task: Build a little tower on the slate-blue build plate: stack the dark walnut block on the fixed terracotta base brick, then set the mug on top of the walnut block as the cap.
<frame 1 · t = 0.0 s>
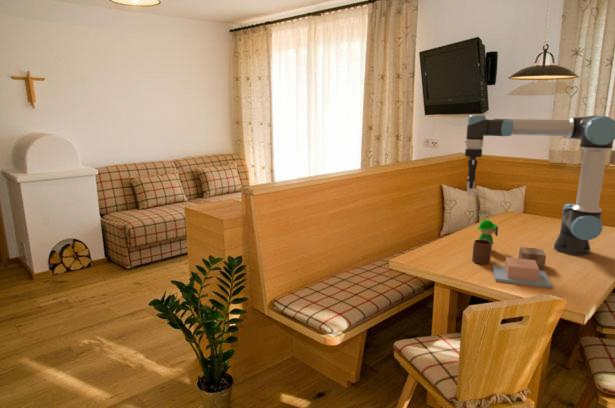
hand: (469, 192, 206), 28 cm above the table, fingers open, 13 cm apart
toy: (484, 249, 210), on the table
mug: (481, 260, 195), on the table
build plate: (520, 277, 176), on the table
walnut block: (530, 266, 189), on the table
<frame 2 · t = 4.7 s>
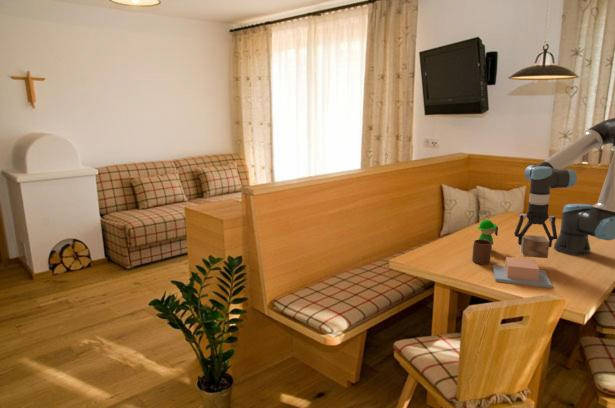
hand: (533, 252, 187), 6 cm above the table, fingers closed on walnut block, 9 cm apart
walnut block: (533, 253, 187), point 5 cm above the table, touching gripper
everything else where it was.
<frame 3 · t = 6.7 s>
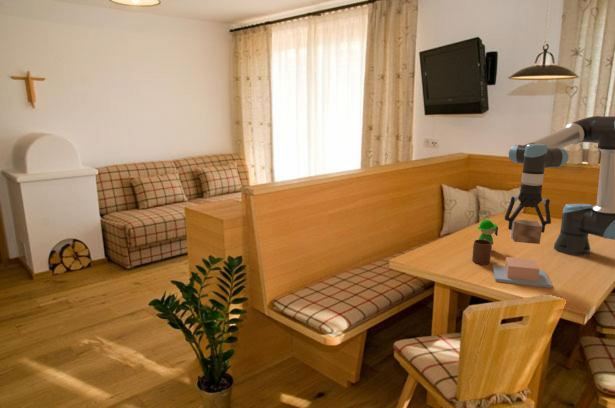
hand: (524, 238, 172), 17 cm above the table, fingers closed on walnut block, 9 cm apart
walnut block: (524, 239, 172), point 16 cm above the table, touching gripper
everything else where it was.
when the fingers open (8 cm above the table, at t = 8.6 s): walnut block drops 1 cm, resting on build plate.
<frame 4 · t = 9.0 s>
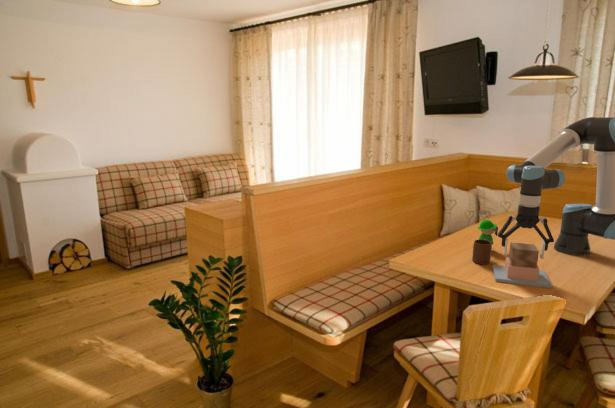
hand: (522, 256, 174), 9 cm above the table, fingers open, 13 cm apart
walnut block: (522, 262, 174), point 6 cm above the table, touching build plate
everything else where it was.
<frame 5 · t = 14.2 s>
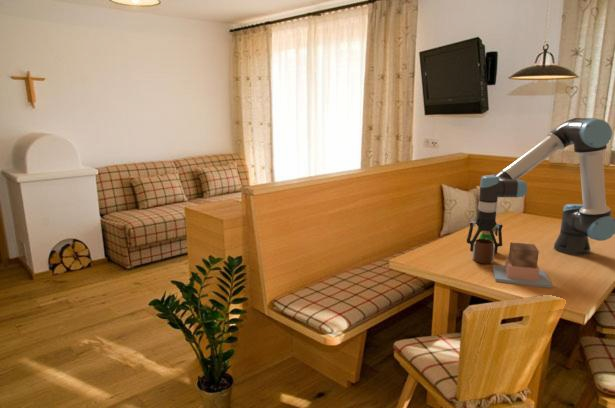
hand: (482, 259, 195), 1 cm above the table, fingers closed on mug, 7 cm apart
mug: (483, 260, 195), on the table, touching gripper
everything else where it was.
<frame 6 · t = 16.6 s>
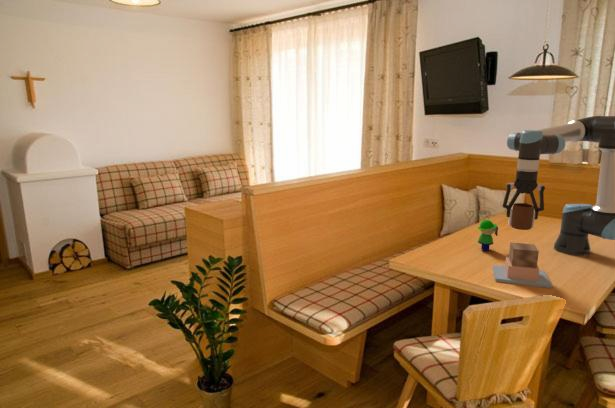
hand: (520, 225, 173), 21 cm above the table, fingers closed on mug, 7 cm apart
mug: (521, 227, 173), point 21 cm above the table, touching gripper
everything else where it was.
when the fingers open (15 cm above the table, at t = 18.6 s): mug drops 2 cm, resting on walnut block.
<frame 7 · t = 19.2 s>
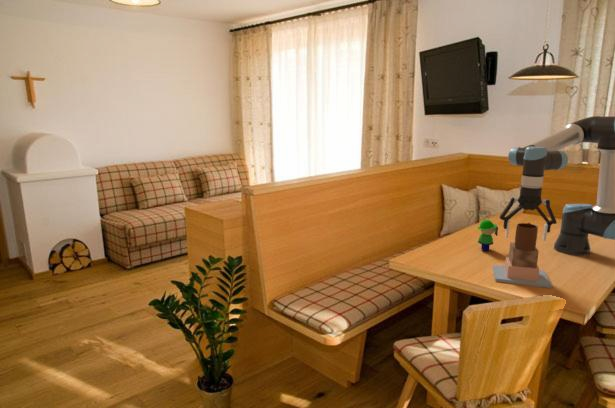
hand: (525, 238, 172), 17 cm above the table, fingers open, 13 cm apart
mug: (525, 247, 173), point 13 cm above the table, touching walnut block
walnut block: (522, 262, 174), point 6 cm above the table, touching build plate, mug
everything else where it was.
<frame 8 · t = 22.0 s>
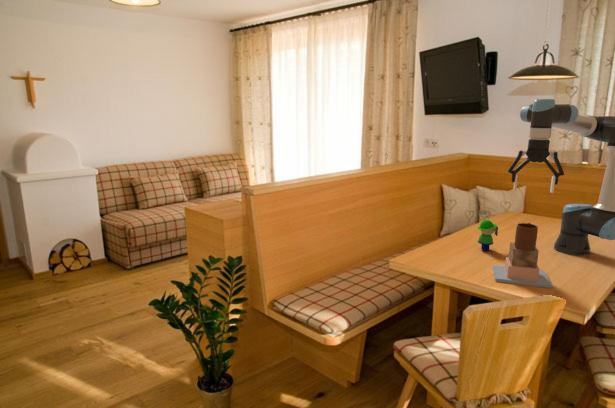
hand: (532, 191, 175), 35 cm above the table, fingers open, 13 cm apart
nothing on the table moved.
at the end: walnut block inside the target area on the build plate (0.0 cm from its centre), point 6.2 cm above the build plate's base; mug 0.4 cm from the build plate (horizontally); mug point 13.0 cm above the table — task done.
